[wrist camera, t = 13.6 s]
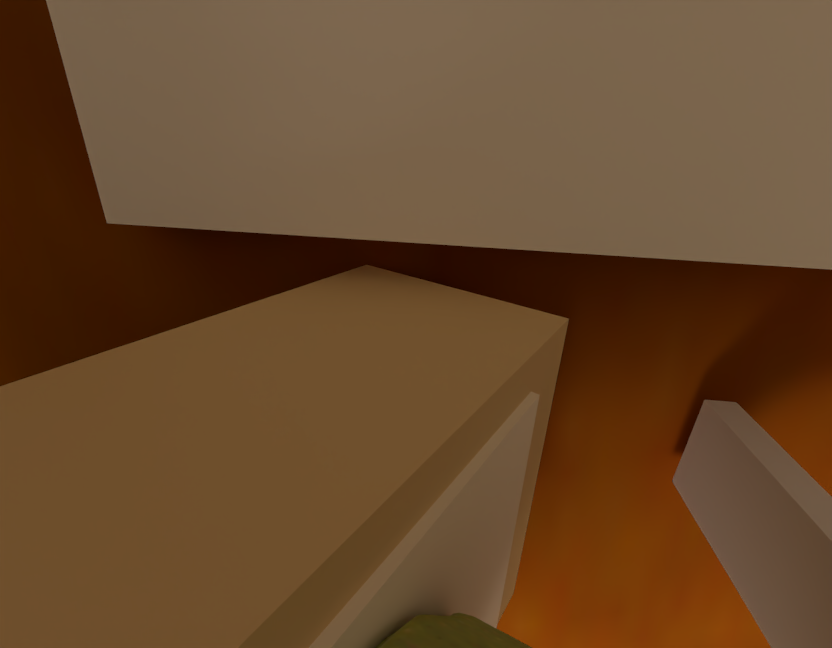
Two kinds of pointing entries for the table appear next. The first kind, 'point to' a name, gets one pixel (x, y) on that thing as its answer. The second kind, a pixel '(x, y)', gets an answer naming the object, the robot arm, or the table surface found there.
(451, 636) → the plant pot
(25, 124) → the table surface
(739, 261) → the shelf board
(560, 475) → the table surface
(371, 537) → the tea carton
